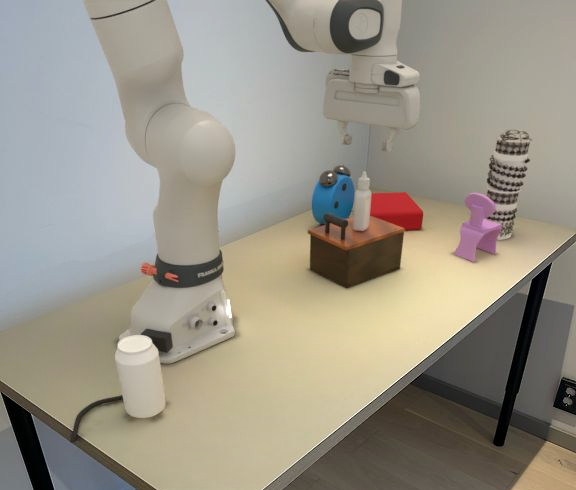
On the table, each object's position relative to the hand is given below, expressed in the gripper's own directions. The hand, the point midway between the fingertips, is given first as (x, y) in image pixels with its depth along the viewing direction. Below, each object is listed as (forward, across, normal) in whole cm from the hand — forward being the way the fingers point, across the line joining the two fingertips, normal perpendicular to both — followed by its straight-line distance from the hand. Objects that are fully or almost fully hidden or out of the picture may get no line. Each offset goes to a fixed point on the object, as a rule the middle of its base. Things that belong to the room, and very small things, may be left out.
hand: (366, 147), depth 120 cm
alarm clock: (+26, -20, +21) cm, 40 cm away
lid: (+18, 0, -1) cm, 18 cm away
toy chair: (+26, +19, +24) cm, 41 cm away
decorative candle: (+26, +18, +40) cm, 51 cm away
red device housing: (+26, -10, +33) cm, 44 cm away
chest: (+26, 0, -1) cm, 27 cm away
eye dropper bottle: (+17, 0, 0) cm, 17 cm away
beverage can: (+28, +1, -66) cm, 71 cm away
